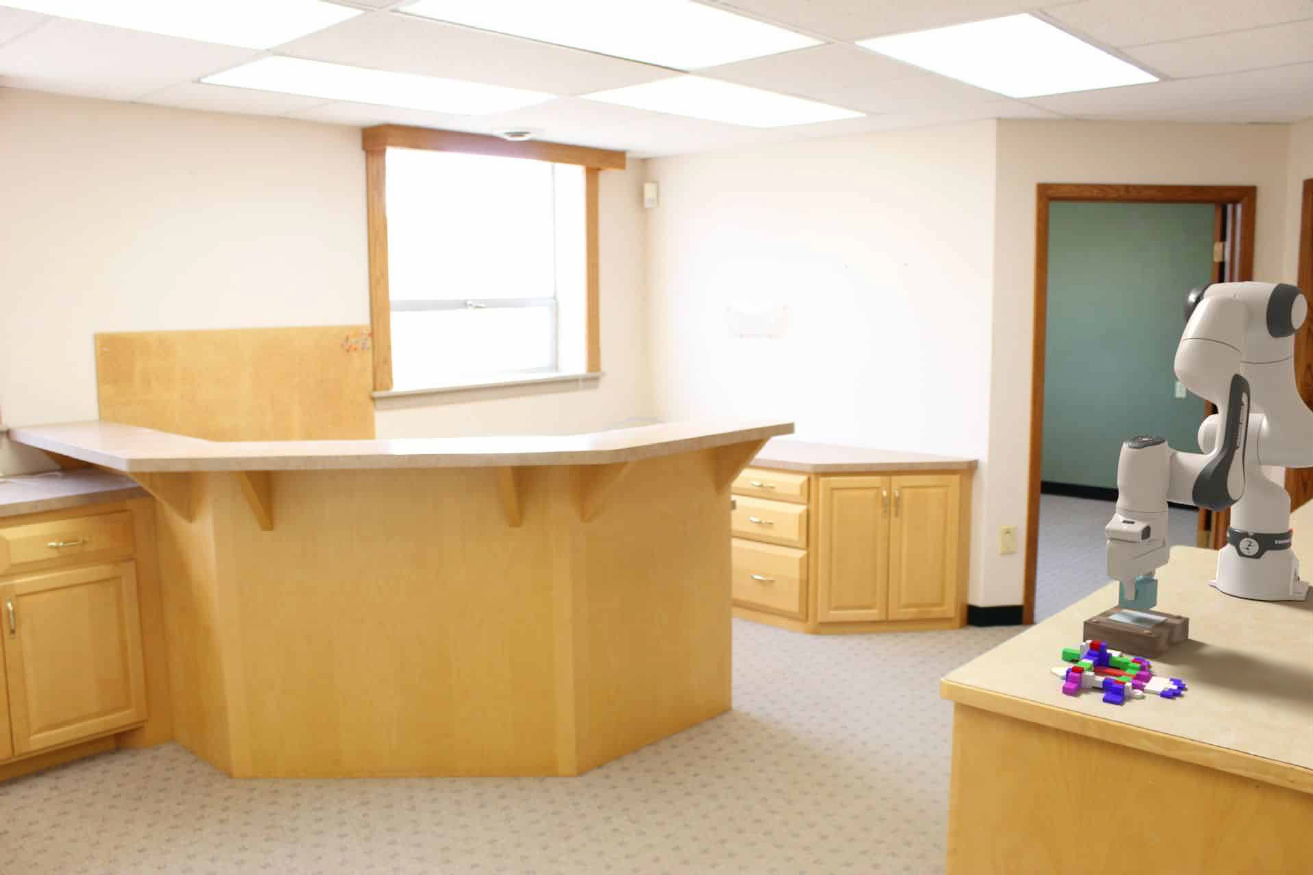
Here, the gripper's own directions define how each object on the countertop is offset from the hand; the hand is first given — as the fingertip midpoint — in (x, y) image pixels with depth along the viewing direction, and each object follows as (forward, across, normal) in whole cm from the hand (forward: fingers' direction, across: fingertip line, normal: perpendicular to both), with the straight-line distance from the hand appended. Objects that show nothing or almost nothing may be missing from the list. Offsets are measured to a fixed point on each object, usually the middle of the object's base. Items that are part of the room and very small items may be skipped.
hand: (1137, 595), depth 197 cm
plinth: (+9, 0, 0) cm, 9 cm away
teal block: (+2, 0, 0) cm, 2 cm away
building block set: (+10, +22, +6) cm, 25 cm away
